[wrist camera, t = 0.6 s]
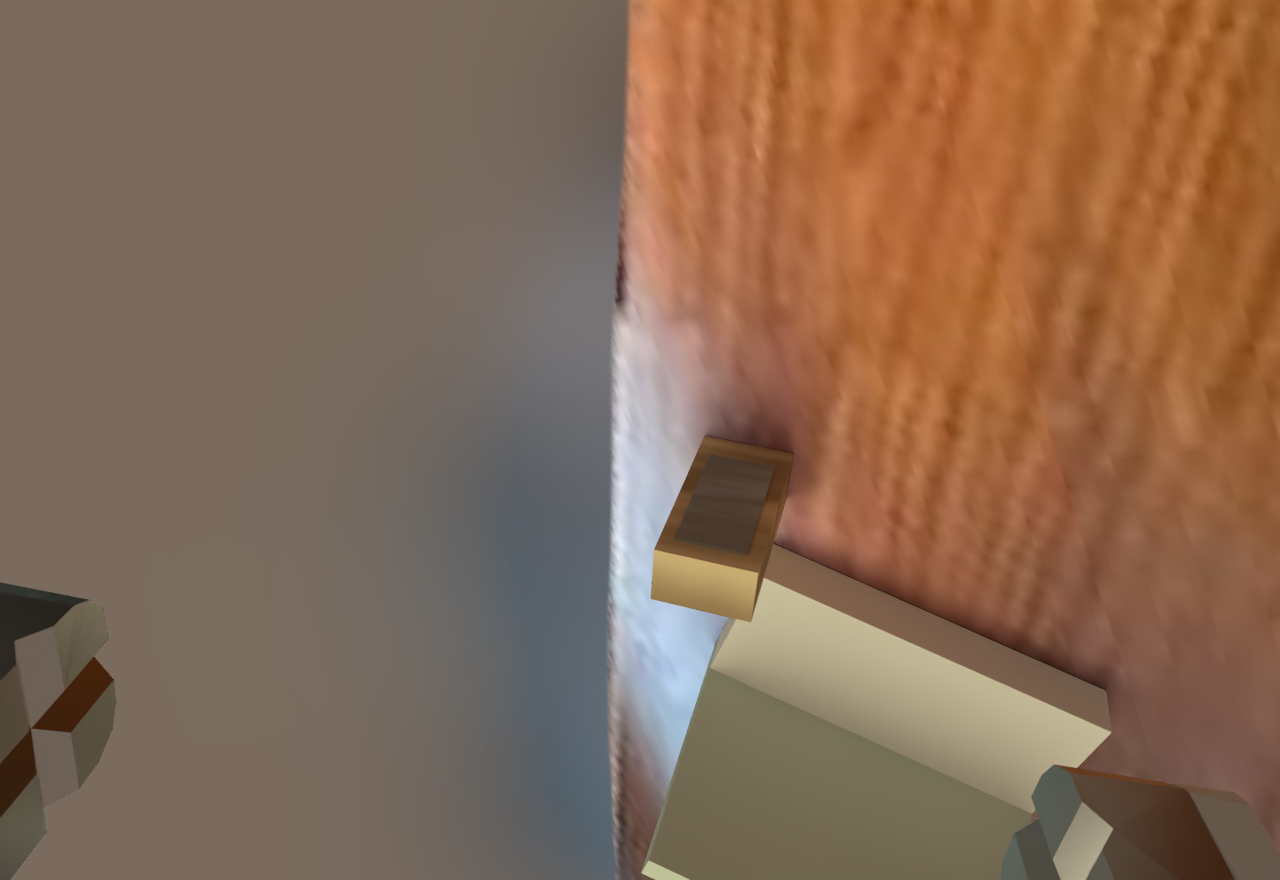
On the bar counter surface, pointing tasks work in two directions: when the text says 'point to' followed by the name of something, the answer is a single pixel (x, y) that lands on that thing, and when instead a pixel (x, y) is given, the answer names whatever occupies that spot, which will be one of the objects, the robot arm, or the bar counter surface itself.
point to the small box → (722, 529)
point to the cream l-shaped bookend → (862, 741)
